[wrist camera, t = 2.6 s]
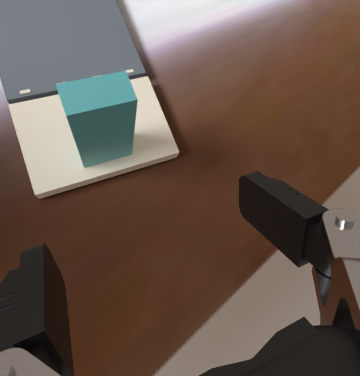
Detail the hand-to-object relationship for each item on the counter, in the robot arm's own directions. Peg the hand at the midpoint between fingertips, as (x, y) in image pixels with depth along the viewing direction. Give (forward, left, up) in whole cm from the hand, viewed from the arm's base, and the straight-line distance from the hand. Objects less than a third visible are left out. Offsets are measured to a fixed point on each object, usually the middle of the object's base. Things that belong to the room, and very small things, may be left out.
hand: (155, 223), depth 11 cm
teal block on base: (0, +10, -12) cm, 16 cm away
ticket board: (0, +22, -12) cm, 25 cm away
